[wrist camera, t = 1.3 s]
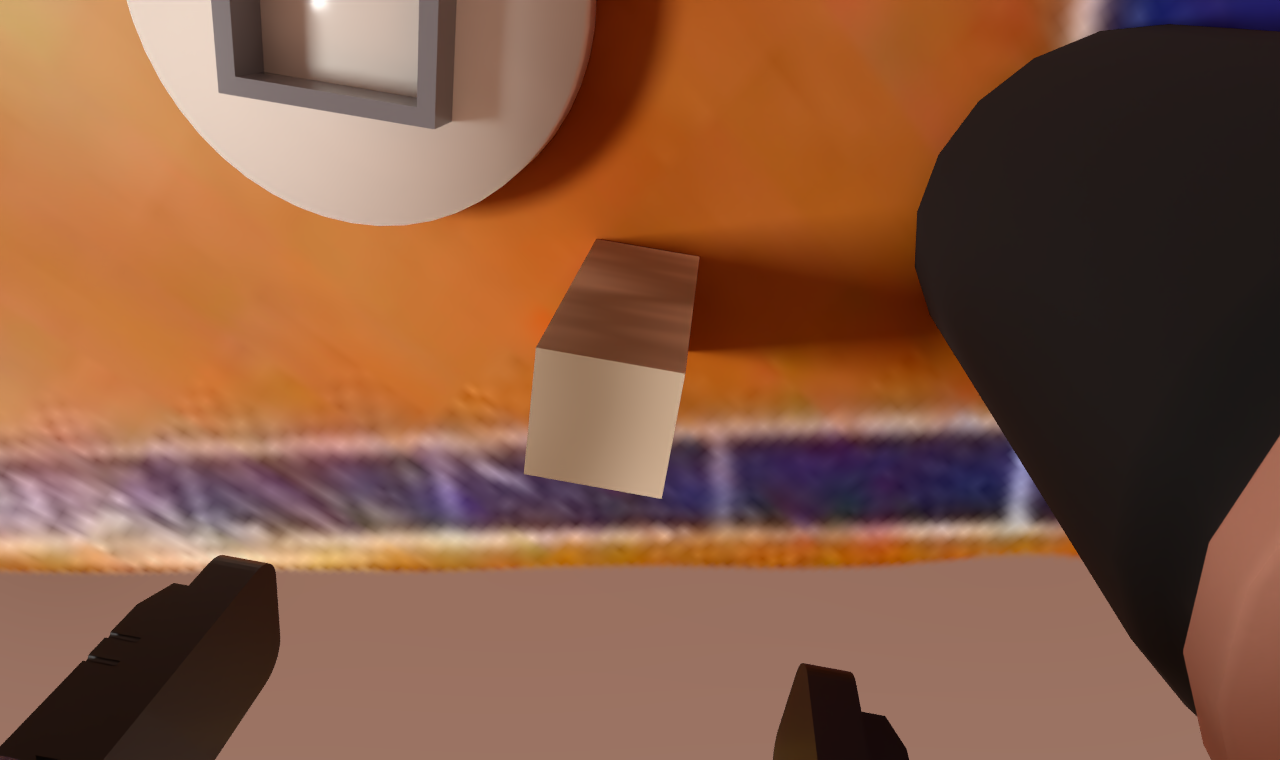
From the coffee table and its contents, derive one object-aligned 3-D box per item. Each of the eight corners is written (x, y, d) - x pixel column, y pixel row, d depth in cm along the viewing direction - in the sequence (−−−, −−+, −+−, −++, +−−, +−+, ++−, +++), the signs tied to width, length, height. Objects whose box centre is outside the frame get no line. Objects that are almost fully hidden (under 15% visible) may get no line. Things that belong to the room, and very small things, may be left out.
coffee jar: (1331, 274, 24) (2515, 825, 8) (988, 427, 28) (1349, 1035, 12) (1219, -64, 21) (2846, -256, 5) (845, 157, 24) (1070, 478, 8)
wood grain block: (699, 256, 26) (685, 373, 18) (682, 351, 28) (661, 498, 20) (596, 238, 26) (536, 347, 18) (584, 334, 28) (523, 473, 20)
